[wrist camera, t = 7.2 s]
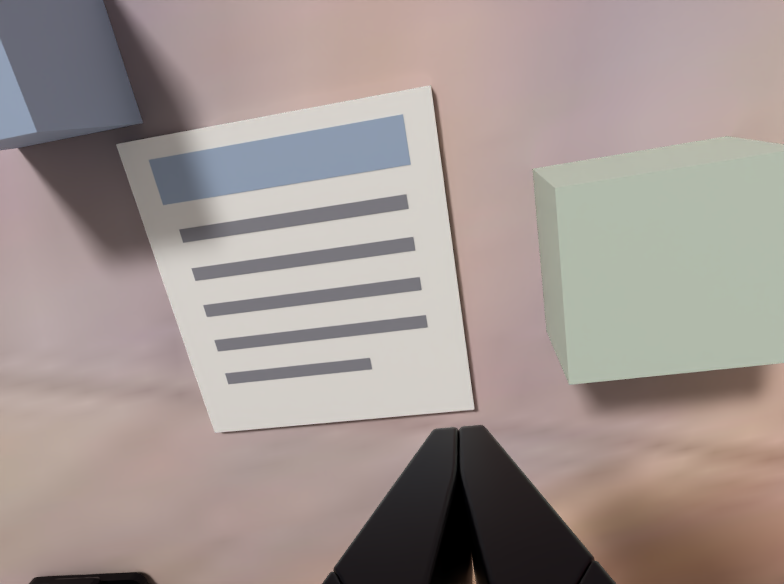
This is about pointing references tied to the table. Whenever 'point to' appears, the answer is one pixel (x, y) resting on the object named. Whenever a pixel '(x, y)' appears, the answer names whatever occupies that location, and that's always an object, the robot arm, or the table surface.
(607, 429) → the table surface
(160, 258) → the letter
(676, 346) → the sage block
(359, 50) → the table surface
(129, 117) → the slate-blue cube
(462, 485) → the robot arm
